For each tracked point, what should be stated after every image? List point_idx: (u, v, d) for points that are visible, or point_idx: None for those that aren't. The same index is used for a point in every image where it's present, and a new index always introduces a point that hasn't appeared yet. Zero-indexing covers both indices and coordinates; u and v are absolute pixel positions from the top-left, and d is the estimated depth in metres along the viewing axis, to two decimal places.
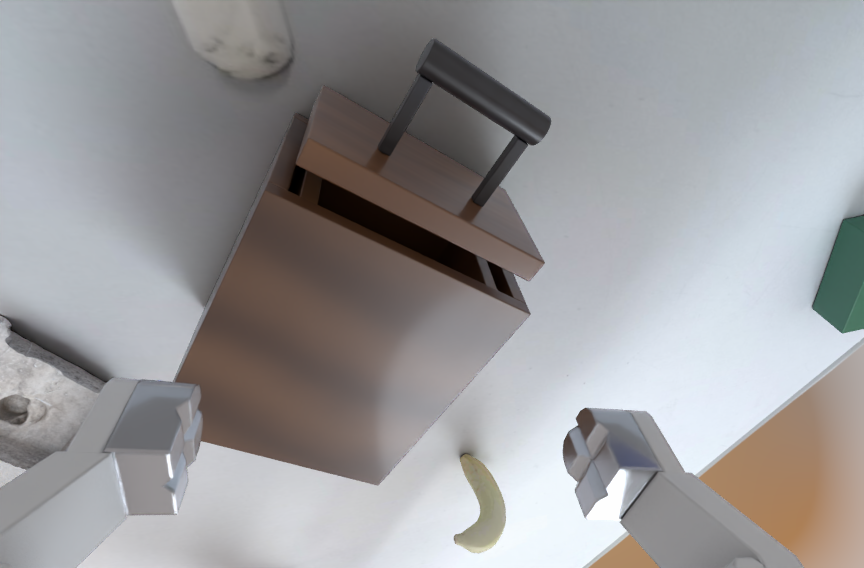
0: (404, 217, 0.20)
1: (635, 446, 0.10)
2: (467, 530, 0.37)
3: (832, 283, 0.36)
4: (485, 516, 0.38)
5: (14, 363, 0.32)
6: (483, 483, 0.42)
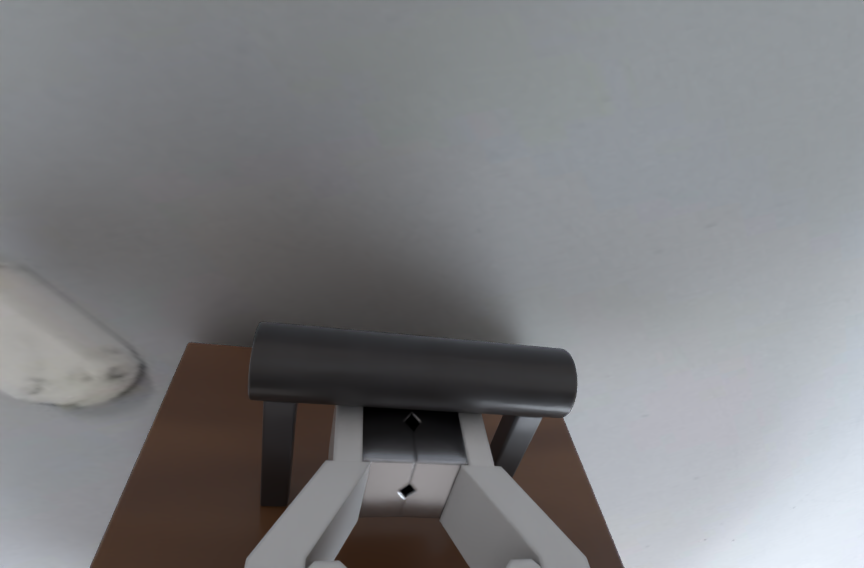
0: None
1: (445, 437, 0.09)
2: None
3: None
4: None
5: None
6: None
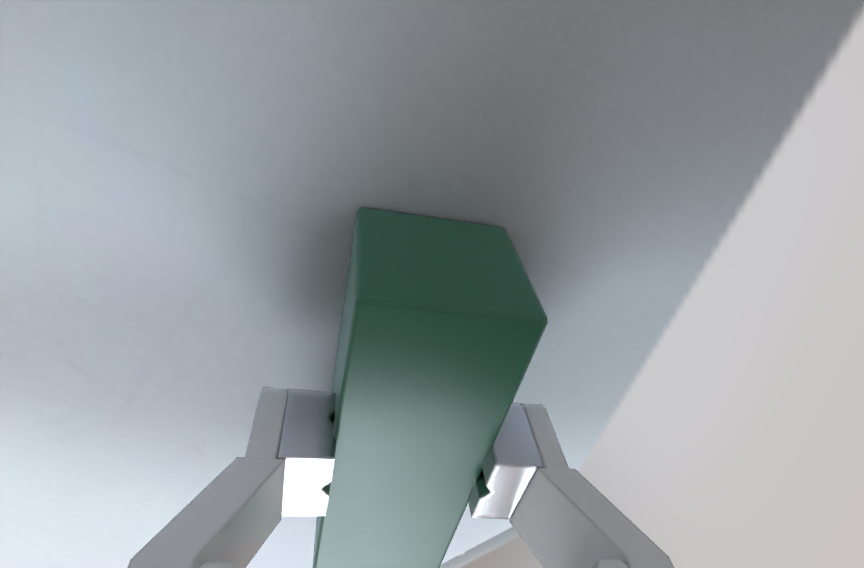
0: None
1: (519, 441, 0.09)
2: None
3: None
4: None
5: None
6: None
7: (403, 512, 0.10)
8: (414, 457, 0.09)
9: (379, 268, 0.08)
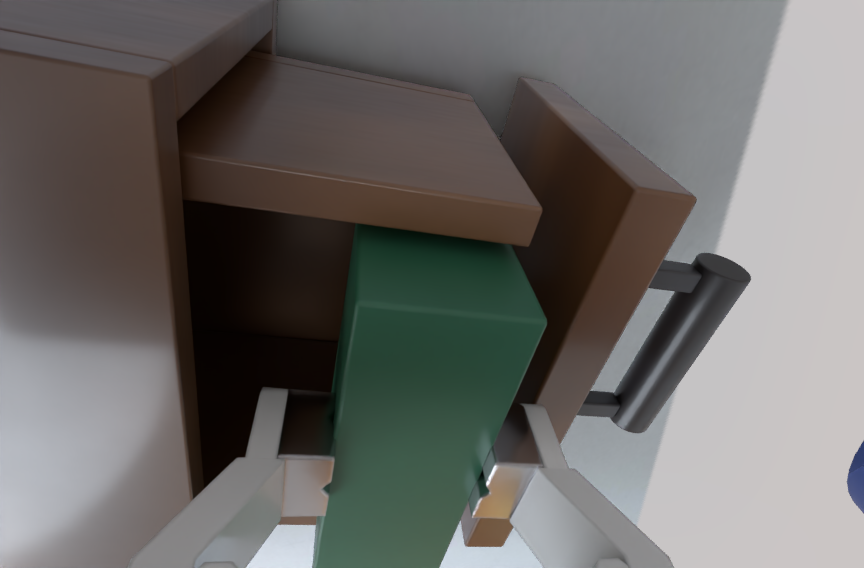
0: (545, 387, 0.11)
1: (519, 441, 0.09)
2: None
3: None
4: None
5: None
6: None
7: (402, 513, 0.10)
8: (414, 459, 0.09)
9: (379, 270, 0.08)
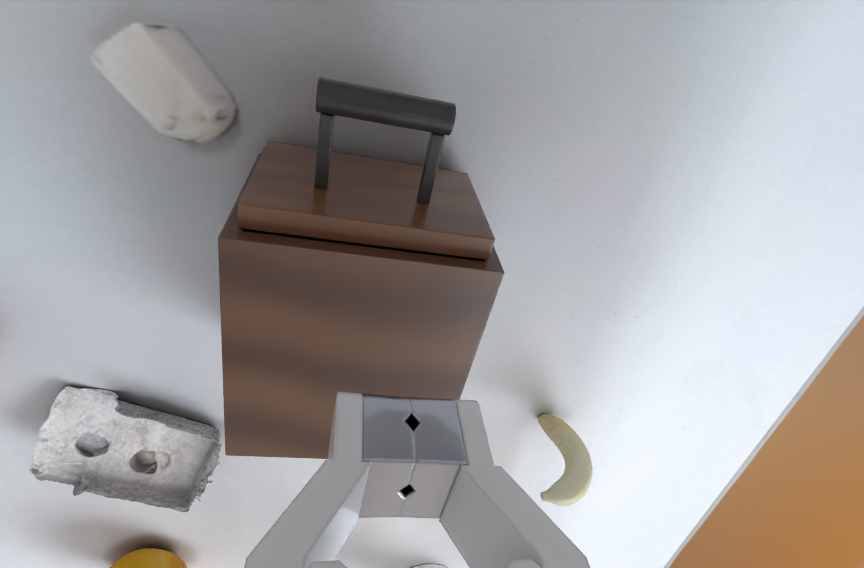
0: (347, 240, 0.22)
1: (445, 437, 0.09)
2: (552, 486, 0.38)
3: None
4: (569, 469, 0.39)
5: (132, 425, 0.39)
6: (563, 438, 0.42)
7: (388, 249, 0.27)
8: None
9: None
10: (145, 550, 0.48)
